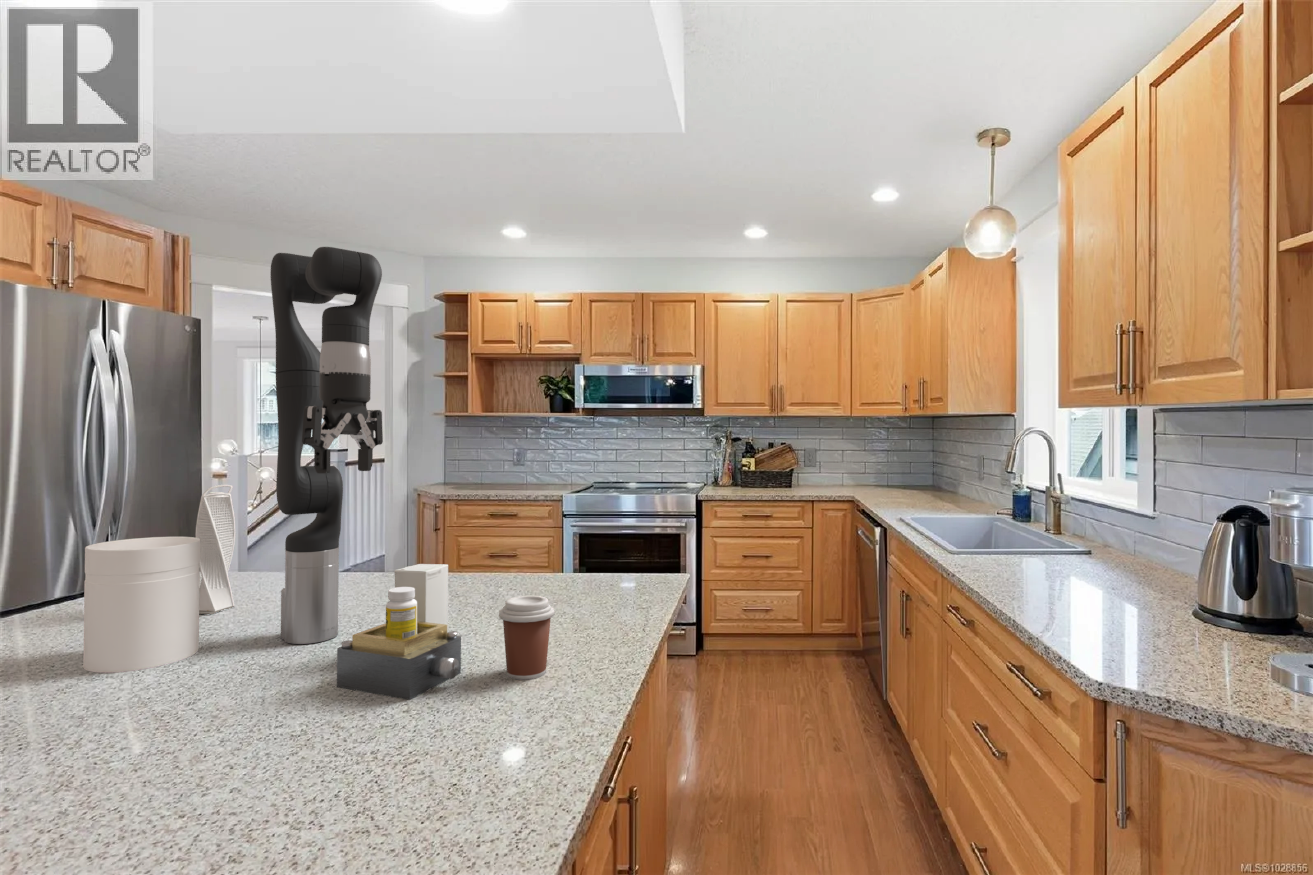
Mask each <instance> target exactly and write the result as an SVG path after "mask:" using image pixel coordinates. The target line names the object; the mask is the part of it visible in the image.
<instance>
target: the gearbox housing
mask: <svg viewBox="0 0 1313 875" xmlns="http://www.w3.org/2000/svg"><path fill="white" fill-rule="evenodd" d="M351 636H352V638H351V639H352V640H350V639H348V640H344V641H342V642H341V646H340V647H337V648H336V657H337V658H336V688H341V689H345V690H346V689H347V690H350V691H359V692H363V693H370V694H373V695H374V694H375V695H380V696H386V697H392V698H399V699H403V700H404V699H405V700H409V701H410V700H413V699H414V698H417V696H420V695H422V694H424V693H425V692H428V691H430V690H431V689H433V688H435V687H437V686H439V685H441V684H443V683H445V682H446V681H448V680H453V679H454V678H456V676H457V675H460V674H461V673H462V636H459V635H458V631H456V630H455V631H448V633H447V625H445V624H437V623H429V622H420V621H417V634H416V635H414V636H411V637H408V638H406V639H397V638H390V637H386V622H385V623H383V624H380V625H377V626H374V627H371V628H368V629H365V630H363V631H360V632H357V633H354V634H352V635H351Z"/></svg>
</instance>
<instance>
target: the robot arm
mask: <svg viewBox="0 0 1313 875" xmlns="http://www.w3.org/2000/svg"><path fill="white" fill-rule="evenodd" d="M382 277H383V270H382V266H381V263H380V262H379V260H378V258H376V256H374V255H373V254H370V253H367V252H361V251H356V250H348V249H343V248H338V247H333V246H320V247H318V248H317V249H315V251H314V252H313V254H312V256H307V255H301V254H295V253H288V252H278V253H276V254H274V255H273V257H272V259H271V263H270V287H271V298H272V307H273V308H272V310H273V319H274V320H273V321H274V327H275V331H274V332H275V389H276V390H275V394H276V395H275V396H276V405H277V406H276V407H277V409H276V410H277V411H276V412H277V427H278V428H277V429H278V430H277V434H278V435H277V436H278V437H277V438H278V440H277V442H278V443H277V460H276V462H277V463H276V483H275V484H276V490H275V491H276V492H275V493H276V494H275V495H276V502H277V506H278V508H279V511H281V513H282V514H284V515H287V516H293V515H309V514H311V515H312V514H316V516H315V517H314V519H313V521H311V522H310V523H309V524H307V525H306V526H304V527H302V528H301V529H298V530H296V531H293V532H291V533H290V534H287V535H286V537H285V544H284V545H285V546H284V547H285V548H284V550H285V558H284V559H285V561H284V562H285V563H284V564H285V565H284V567H285V568H284V571H285V572H284V575H285V576H284V578H285V579H284V588H282V589H281V591H280V639H282V640H284V642H285V643H288V644H295V645H303V644H314V643H315V644H316V643H319V642H320V643H321V642H325V641H328V640H331V639H334V638H336V637H337V636H338V634H339V589H340V588H339V585H340V584H339V581H340V580H339V577H340V575H339V572H340V571H339V570H340V565H339V564H340V560H339V559H340V557H339V556H340V553H339V552H340V549H339V546H340V536H341V529H342V528H341V527H342V509H343V499H344V498H343V496H344V495H343V494H344V480H343V477H342V473H341V472H340V470H339V469H338V468H337V467H336V466H334V465H331V449H329V448H330V447H331V445H332V443H333V442H334V440H335V439H337V438H338V437H339V436H340V435H344V436H345V435H349V437H350V438H352V439H353V440H354V441H355V443H356V444H357V446H358V449H357V470H358V471H359V472H370V471H371V470H372V467H373V451H374V450H373V449H374V448H375V447H377V446H381V445H382V444H384V443H383V442H384V441H383V439H384V437H383V432H384V431H383V413H382V410H381V409H368V408H367V404H368V403H369V402H370V401H371V384H372V383H371V382H372V381H371V380H372V379H371V376H372V374H371V372H372V370H371V367H372V366H371V365H372V360H371V359H372V358H371V352H370V351H371V350H370V323H371V317H372V310H373V306H374V303H375V299H376V297H377V293H378V291H379V289H380V285H381V282H382ZM344 294H345V295H353V296H355V300H354V302H353V304H349V305H337V306H330V307H327V308H325V309H324V310H323V311H322V315H321V347H320V350H319V349H318V347H317V346H316V344H314V342H313V341H312V340H311V338H310V337H309V335H308V334H307V333H306V331H305V330H304V328H303V327H302V325H301V322H300V320H299V319H298V316H297V313H296V310H295V307H294V303H296V302H297V303H305V304H311V305H312V304H313V305H320V304H326V303H329V302H330V301H332V300H333V299H334V298H335V297H336V296H340V295H344ZM293 302H294V303H293ZM322 420H323V422H322ZM374 432H375V434H374ZM304 446H309V447H311V448H312V449H313V454H314V458H313V459H314V461H313V463H314V464H313V465H303V466H302V465H301V464H302V463H301V458H302V453H303V452H302V451H303V448H304Z"/></svg>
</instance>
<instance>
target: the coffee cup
mask: <svg viewBox="0 0 1313 875" xmlns="http://www.w3.org/2000/svg"><path fill="white" fill-rule="evenodd" d="M504 602H505V605H504V606H503V607H502V608H501V609H500V610H499V611H498V617H499V619H500V620H502V624H503V626H502V627H503V638H504V649H505V664H506V666H505V667H506V676H507V677H508V678H509V679H512V680H521V681H527V680H534V679H538V678H541V677H543V676H544V675H545V674H547V662H548V651H549V641H550V640H549V639H550V629H551V618H553V617H554V616H555V614H556V612H555V608H554V606H551V604H550V603H549V599H548V598H547V597H545V596H542V595H541V596H540V595H532V594H531V595H518V596H513V597H510V598H507V599H506V600H505V601H504Z"/></svg>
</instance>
